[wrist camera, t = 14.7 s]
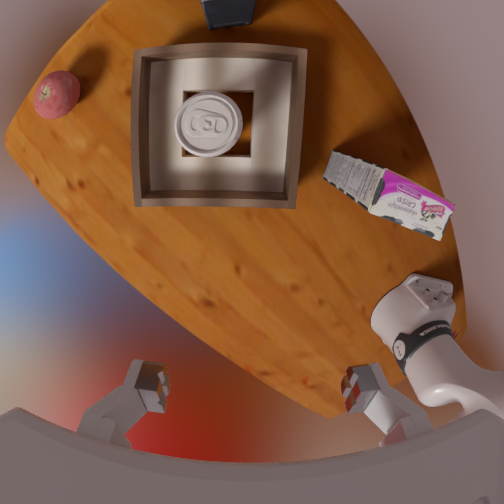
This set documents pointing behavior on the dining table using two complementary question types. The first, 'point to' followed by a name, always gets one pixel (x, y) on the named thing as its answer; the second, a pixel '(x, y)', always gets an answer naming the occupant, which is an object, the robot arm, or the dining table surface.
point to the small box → (228, 12)
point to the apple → (56, 94)
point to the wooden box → (225, 165)
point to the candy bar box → (389, 194)
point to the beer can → (208, 124)
